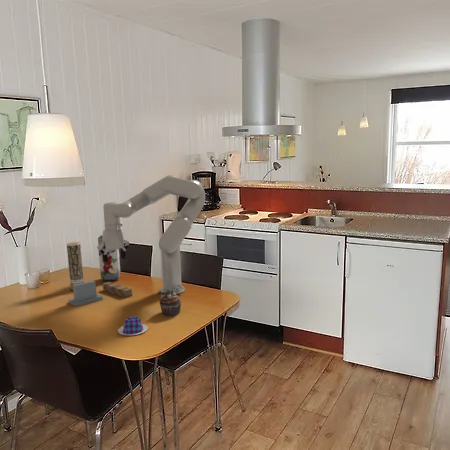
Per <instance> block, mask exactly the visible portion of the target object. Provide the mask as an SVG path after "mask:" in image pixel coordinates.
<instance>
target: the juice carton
mask: <svg viewBox="0 0 450 450" xmlns="http://www.w3.org/2000/svg"><path fill="white" fill-rule="evenodd" d="M102 237H103V234H100V236H99V237H98V238H97V246H99V245H100V244H101V243H102ZM101 249H102V250H103V247H101ZM106 254H107V258H108V262H104V261H103V254H102V253H101V252H99V251H98V261H99V271H100V272H99V274H100V277H101V280H102V282H112V281H113V282H116V281H119V278H120V274H121V265H120V264H121V263H120V261H121V260H120V249H115V250H108V252H107V253H106Z"/></svg>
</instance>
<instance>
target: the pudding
mask: <svg viewBox="0 0 450 450" xmlns="http://www.w3.org/2000/svg"><path fill="white" fill-rule="evenodd" d="M148 328H149V327H148V325H146V324H145V323H142V321H141V319H140V318H139V316H135V315H133V316H129V317H127V318H125V320H124V325H122V326H120V327H119V328H118V329H117V332H118V334H120V335H122V336H130V335H131V336H135V335H136V336H137V335H140V334H143V333H146V331H147V330H148Z"/></svg>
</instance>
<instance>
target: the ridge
mask: <svg viewBox="0 0 450 450" xmlns="http://www.w3.org/2000/svg"><path fill="white" fill-rule="evenodd" d="M72 293H73V298H70V299H68V300H67V301H68V303H69V304H70V305H72V306H73V307H74V308H77V307H79V306H84V305H87V304H91V303H95V302H99V301H103V300H104V299H103V296H102V295H100V294H99V293H97V284H96V281H95V280H88V281H85V282H84V283H79V284H75V285H73V290H72Z"/></svg>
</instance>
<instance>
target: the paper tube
mask: <svg viewBox="0 0 450 450" xmlns="http://www.w3.org/2000/svg"><path fill="white" fill-rule="evenodd" d="M66 253H67V262H68V274H69V283H70V285H69V286H70V289H71V290H72V291H73V285H75V284H79V283H84V271H83V270H84V269H83V259H82V246H81V242H80V241H73V242H67V243H66Z"/></svg>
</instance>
